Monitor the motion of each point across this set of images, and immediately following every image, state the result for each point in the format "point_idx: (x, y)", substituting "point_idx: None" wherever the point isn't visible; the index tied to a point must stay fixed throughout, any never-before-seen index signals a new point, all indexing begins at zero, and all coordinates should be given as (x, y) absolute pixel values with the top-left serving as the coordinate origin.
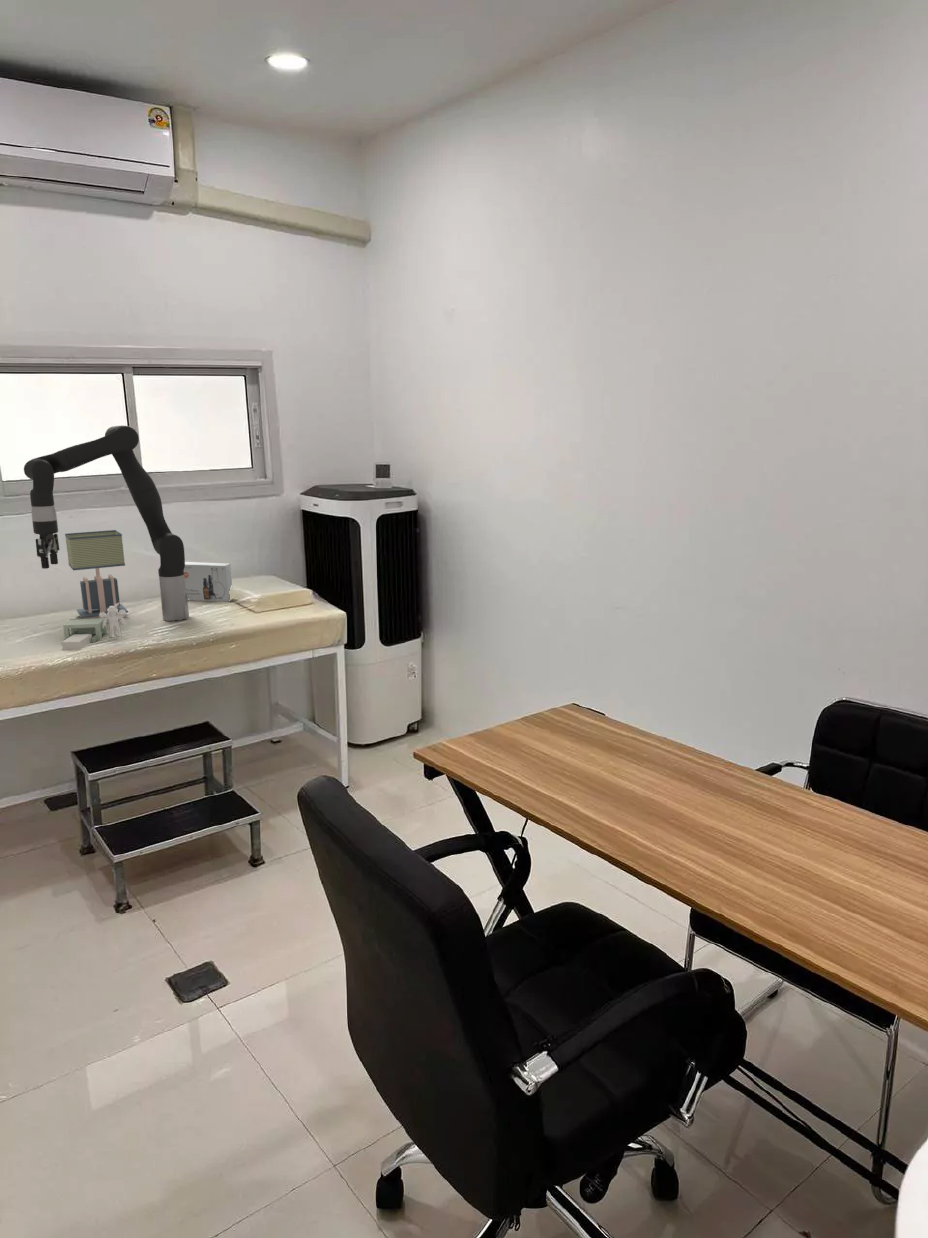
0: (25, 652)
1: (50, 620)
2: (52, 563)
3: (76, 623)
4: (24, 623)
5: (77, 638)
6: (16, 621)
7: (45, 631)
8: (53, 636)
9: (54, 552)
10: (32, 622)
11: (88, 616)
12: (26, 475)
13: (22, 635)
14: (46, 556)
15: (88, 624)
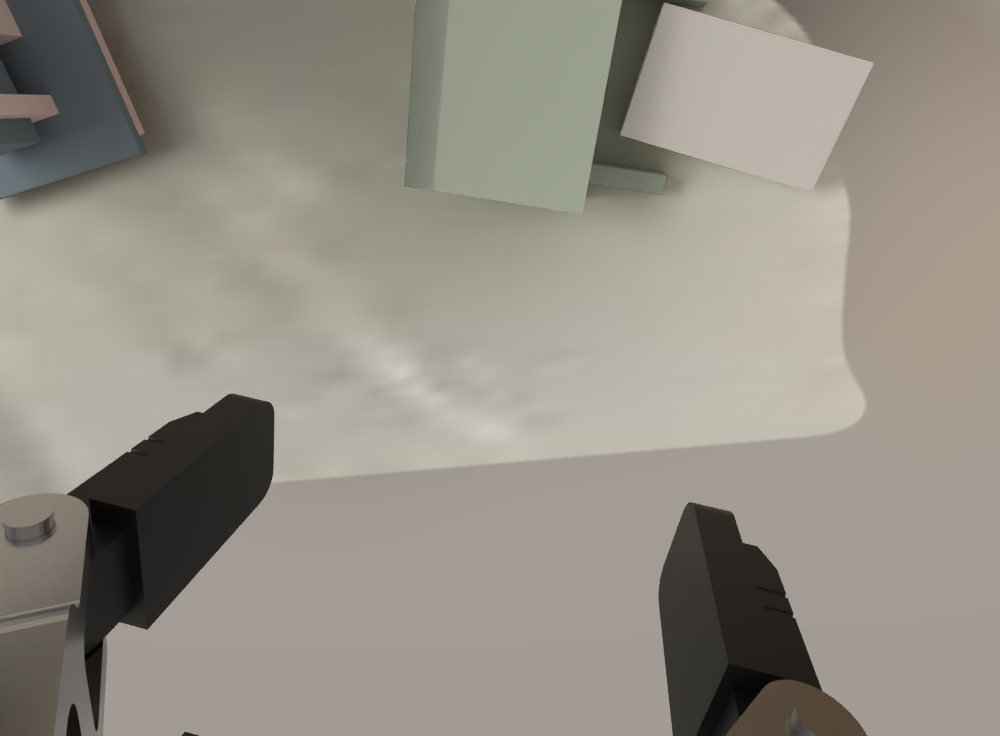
0: (762, 377)
1: (100, 332)
2: (266, 472)
3: (558, 122)
4: None
5: (763, 93)
6: None
7: (329, 330)
8: (452, 277)
9: (103, 562)
10: (136, 408)
11: (124, 109)
12: None
13: (387, 425)
14: (856, 733)
15: (617, 17)
